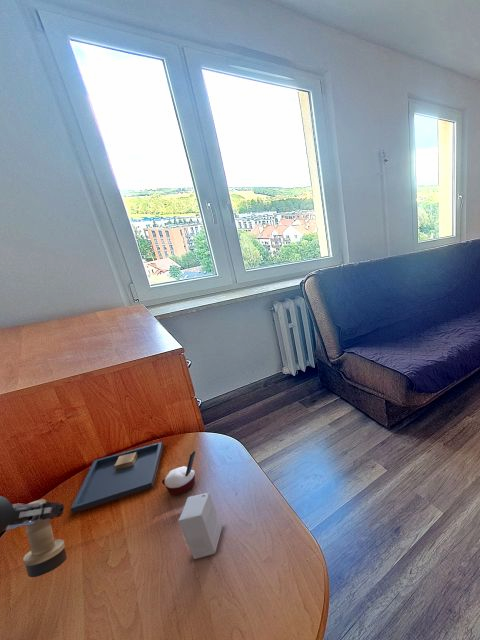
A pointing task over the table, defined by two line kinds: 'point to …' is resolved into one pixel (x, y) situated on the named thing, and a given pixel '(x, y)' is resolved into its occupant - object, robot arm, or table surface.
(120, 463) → the cork chip
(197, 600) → the table surface
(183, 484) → the cocoa
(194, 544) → the cosmetic box
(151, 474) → the tray
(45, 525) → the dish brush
